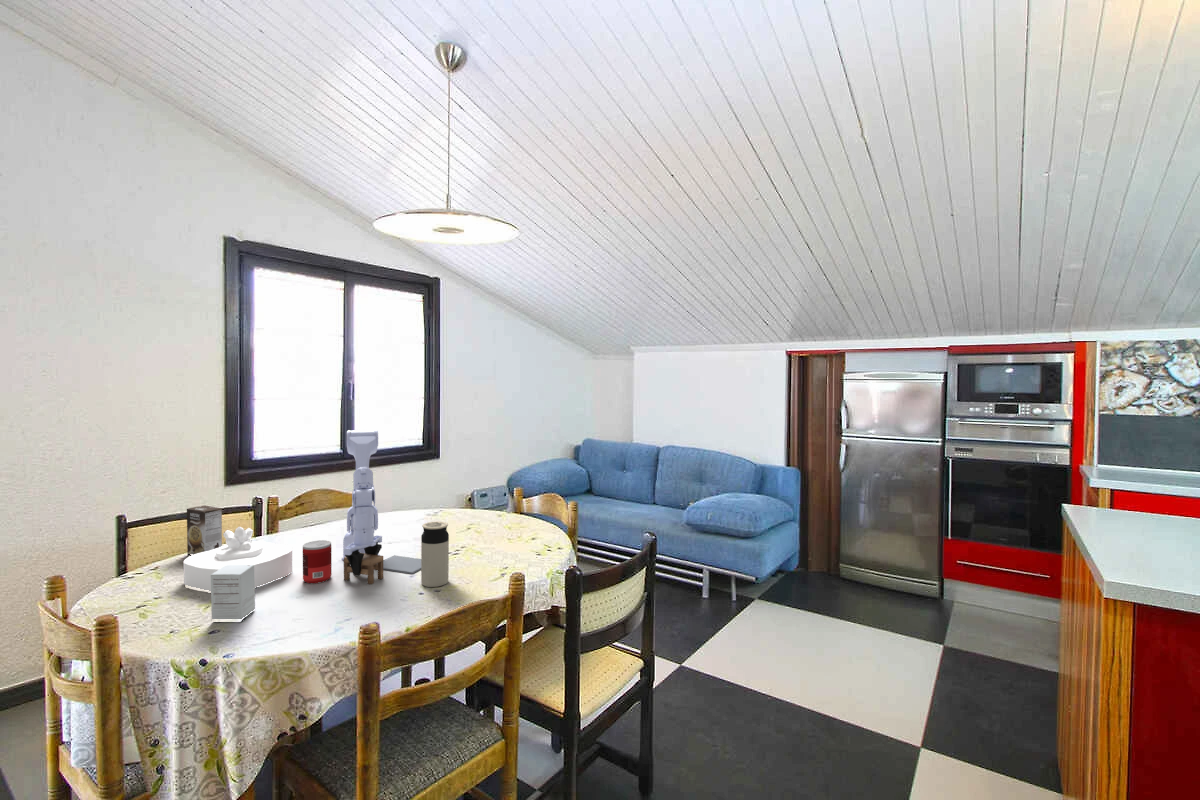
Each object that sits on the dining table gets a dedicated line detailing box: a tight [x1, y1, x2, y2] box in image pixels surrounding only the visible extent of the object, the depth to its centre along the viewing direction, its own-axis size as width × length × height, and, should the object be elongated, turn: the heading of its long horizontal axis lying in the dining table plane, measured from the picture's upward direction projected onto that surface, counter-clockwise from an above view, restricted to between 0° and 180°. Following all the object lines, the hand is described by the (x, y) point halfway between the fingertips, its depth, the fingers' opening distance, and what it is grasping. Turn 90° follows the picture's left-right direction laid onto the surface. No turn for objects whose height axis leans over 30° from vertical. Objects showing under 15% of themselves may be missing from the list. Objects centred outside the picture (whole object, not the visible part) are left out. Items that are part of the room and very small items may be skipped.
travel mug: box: [420, 520, 450, 588], centre depth 176 cm, size 8×8×18 cm
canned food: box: [302, 539, 332, 584], centre depth 178 cm, size 8×8×11 cm
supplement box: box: [210, 565, 256, 620], centre depth 150 cm, size 7×7×13 cm
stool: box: [343, 553, 384, 585], centre depth 179 cm, size 10×6×7 cm, turn 72°
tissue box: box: [182, 526, 293, 591], centre depth 178 cm, size 25×25×16 cm
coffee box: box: [186, 504, 223, 555], centre depth 199 cm, size 9×6×16 cm
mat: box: [377, 554, 421, 575], centre depth 192 cm, size 16×12×1 cm
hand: (363, 571), depth 179 cm, fingers closed on stool, 6 cm apart
